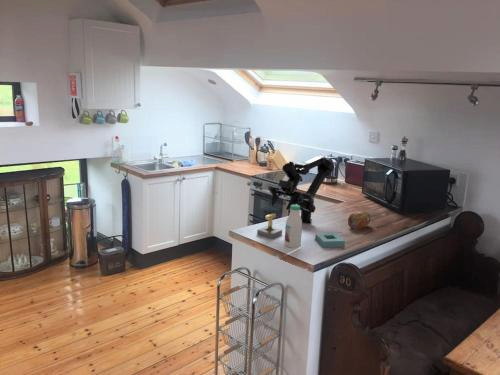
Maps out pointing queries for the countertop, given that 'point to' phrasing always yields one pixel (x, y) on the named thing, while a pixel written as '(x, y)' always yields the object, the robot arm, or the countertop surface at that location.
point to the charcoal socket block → (268, 234)
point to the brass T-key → (270, 221)
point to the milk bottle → (293, 228)
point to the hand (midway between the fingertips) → (279, 207)
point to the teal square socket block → (329, 240)
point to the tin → (359, 220)
